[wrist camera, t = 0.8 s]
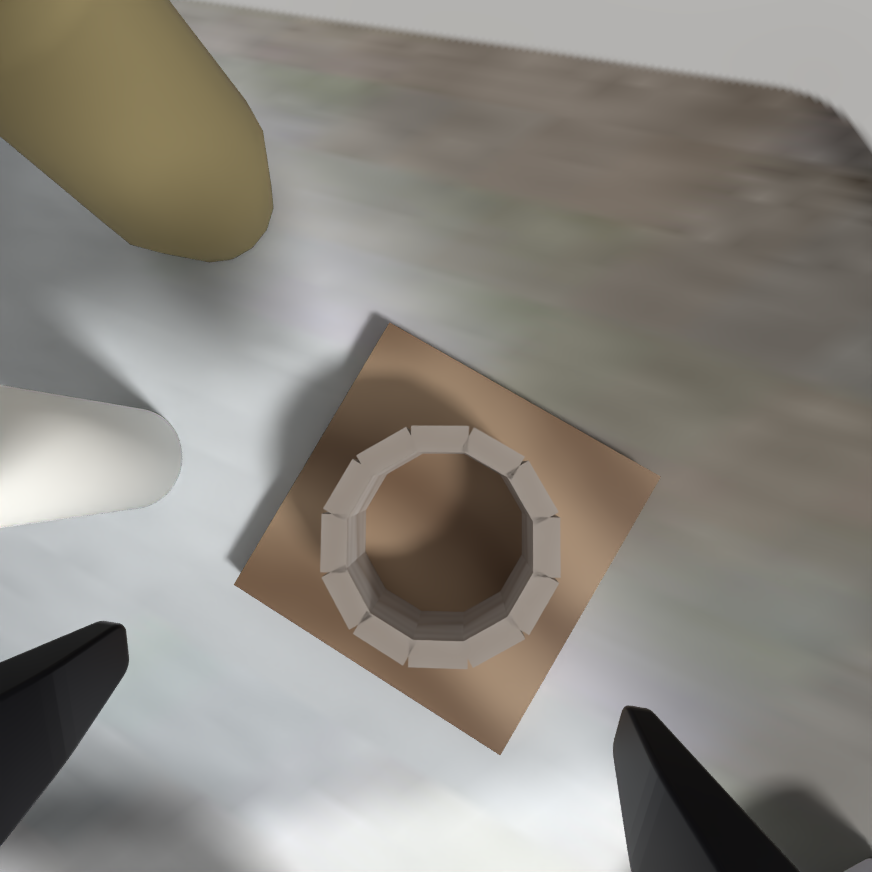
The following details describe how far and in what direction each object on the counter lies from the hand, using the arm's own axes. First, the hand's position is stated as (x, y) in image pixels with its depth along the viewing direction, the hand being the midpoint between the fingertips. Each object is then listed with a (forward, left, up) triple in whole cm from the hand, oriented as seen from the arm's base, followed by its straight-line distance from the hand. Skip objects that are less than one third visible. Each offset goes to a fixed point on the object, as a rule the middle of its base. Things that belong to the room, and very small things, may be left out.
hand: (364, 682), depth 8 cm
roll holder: (+1, 0, -14) cm, 14 cm away
